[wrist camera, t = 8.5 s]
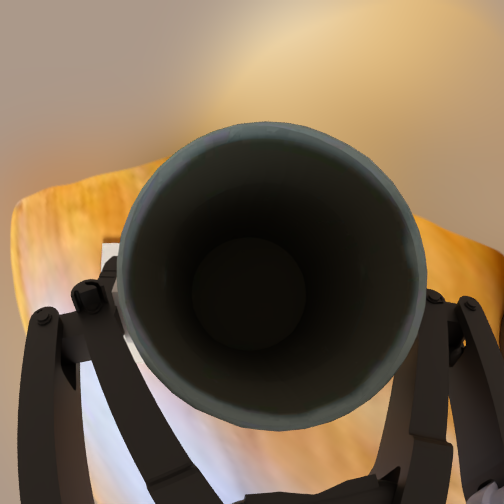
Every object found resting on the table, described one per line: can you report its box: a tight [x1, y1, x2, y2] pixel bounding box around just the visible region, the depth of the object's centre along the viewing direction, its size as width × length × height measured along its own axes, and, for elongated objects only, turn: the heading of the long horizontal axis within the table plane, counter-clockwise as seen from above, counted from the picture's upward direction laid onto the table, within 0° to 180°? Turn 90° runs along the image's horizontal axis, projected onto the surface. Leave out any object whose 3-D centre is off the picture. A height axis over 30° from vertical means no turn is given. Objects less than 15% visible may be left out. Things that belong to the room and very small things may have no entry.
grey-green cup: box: [117, 122, 427, 431], centre depth 15 cm, size 10×10×12 cm
